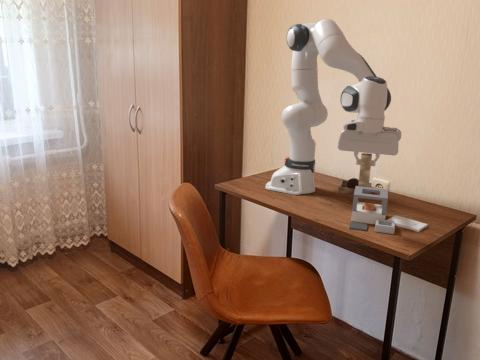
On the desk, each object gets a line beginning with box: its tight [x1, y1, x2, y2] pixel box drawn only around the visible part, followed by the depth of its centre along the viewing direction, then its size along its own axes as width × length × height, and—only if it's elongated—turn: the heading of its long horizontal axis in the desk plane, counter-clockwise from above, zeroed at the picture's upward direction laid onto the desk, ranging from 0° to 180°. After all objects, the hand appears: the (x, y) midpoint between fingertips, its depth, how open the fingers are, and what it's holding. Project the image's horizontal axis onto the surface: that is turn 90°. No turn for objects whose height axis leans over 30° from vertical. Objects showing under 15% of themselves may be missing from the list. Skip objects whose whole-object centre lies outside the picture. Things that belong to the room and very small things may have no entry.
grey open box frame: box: [350, 186, 389, 225], centre depth 176 cm, size 12×12×10 cm
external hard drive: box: [386, 214, 429, 233], centre depth 173 cm, size 2×8×12 cm
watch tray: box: [337, 179, 372, 196], centre depth 213 cm, size 14×14×2 cm
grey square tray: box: [374, 219, 396, 235], centre depth 167 cm, size 6×6×2 cm
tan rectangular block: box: [358, 152, 373, 187], centre depth 163 cm, size 4×4×11 cm
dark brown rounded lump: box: [346, 177, 359, 189], centre depth 210 cm, size 8×8×7 cm
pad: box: [349, 221, 368, 232], centre depth 168 cm, size 6×6×1 cm
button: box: [364, 202, 375, 211], centre depth 177 cm, size 4×4×4 cm
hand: (365, 165), depth 162 cm, fingers closed on tan rectangular block, 3 cm apart
